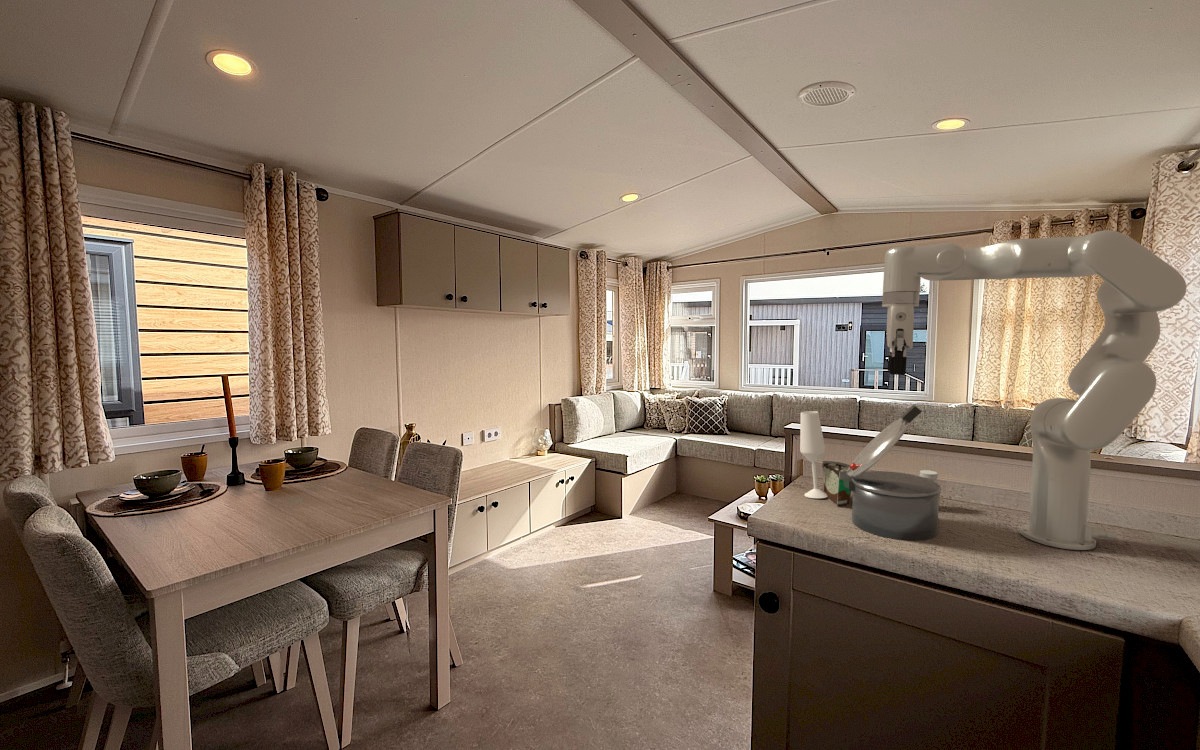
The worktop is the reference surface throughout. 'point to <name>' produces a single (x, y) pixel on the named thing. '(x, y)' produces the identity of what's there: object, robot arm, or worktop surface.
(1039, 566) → the worktop surface
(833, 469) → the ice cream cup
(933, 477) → the supplement bottle
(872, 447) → the cooker lid
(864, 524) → the cooker pot
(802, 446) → the champagne flute
